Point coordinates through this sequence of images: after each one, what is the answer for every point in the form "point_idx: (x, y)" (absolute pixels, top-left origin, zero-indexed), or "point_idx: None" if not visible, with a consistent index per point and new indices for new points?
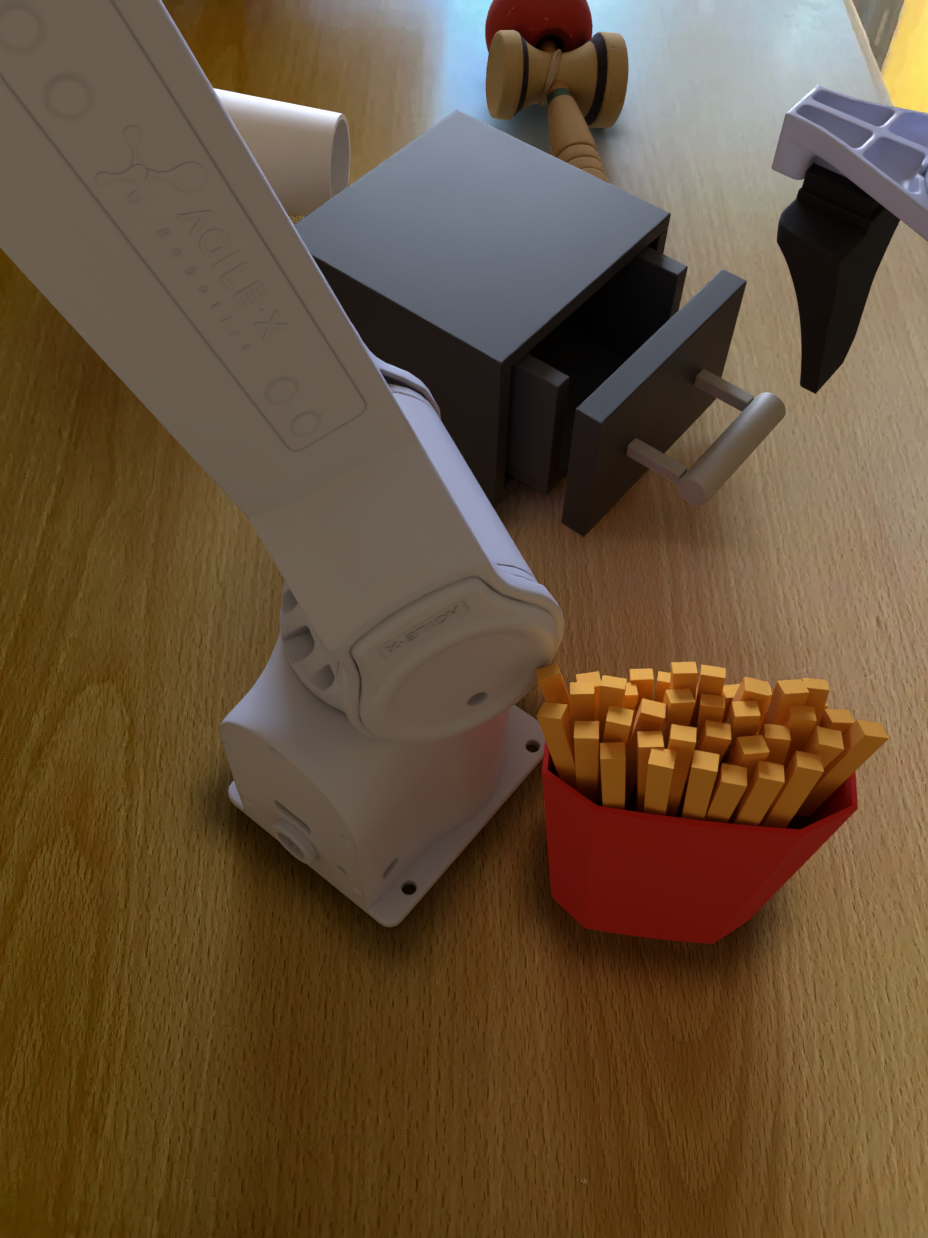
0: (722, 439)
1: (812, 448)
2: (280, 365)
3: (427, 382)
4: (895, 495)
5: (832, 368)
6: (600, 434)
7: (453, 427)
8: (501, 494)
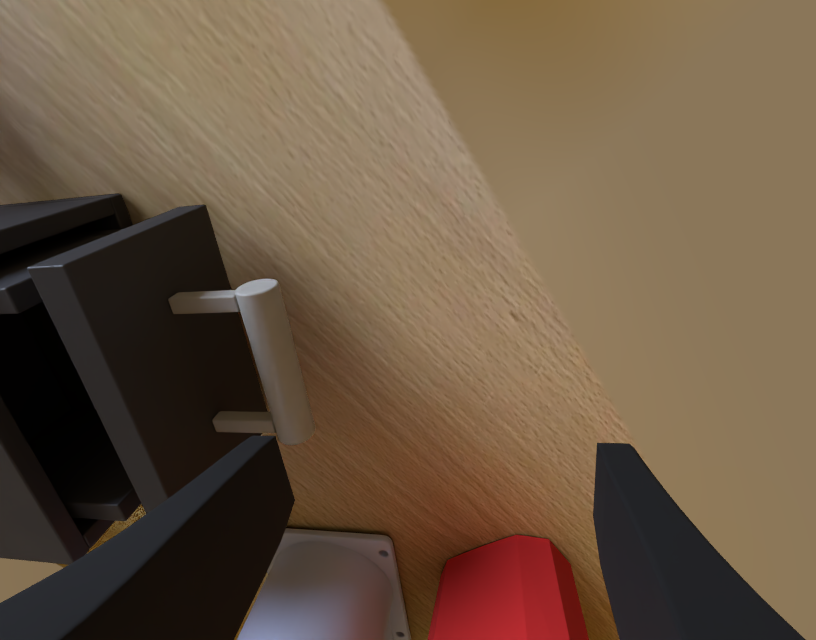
0: (264, 384)
1: (322, 160)
2: None
3: None
4: (434, 151)
5: (276, 486)
6: None
7: None
8: None
